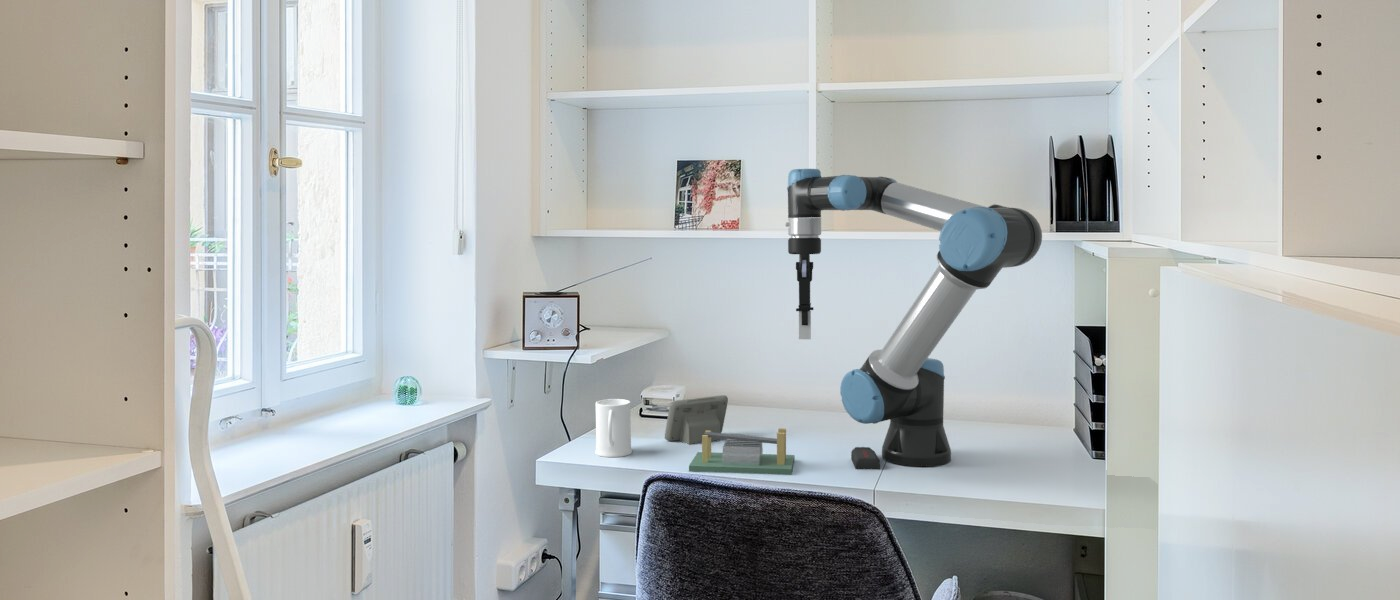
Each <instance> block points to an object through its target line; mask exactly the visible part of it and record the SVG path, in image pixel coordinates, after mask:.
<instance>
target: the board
mask: <svg viewBox="0 0 1400 600" xmlns="http://www.w3.org/2000/svg"><path fill="white" fill-rule="evenodd" d="M705 432H711V431H705ZM776 439H777V444H776V453H775V454H774V453H773V454H772V453H770V454H769V453H763V457H762V459H761V462H760V465H759V466H754V465H724V464H722V455H723V452H712V441H711V437H708V435H702V443H701V450H702V451H697V452H696V454H695V456H694V457H693V459H692V460H691V462H690V463H689V465H688V472H698V473H700V472H702V473H731V474H732V473H733V474H758V475H759V474H760V475H761V474H763V475H783V476H787V475H789V476H791V475H793V469H794V465H795V461H796V460H795V459H796V458H795V454H787V428H786V427H778V432H776Z"/></svg>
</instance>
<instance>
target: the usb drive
mask: <svg viewBox="0 0 1400 600" xmlns="http://www.w3.org/2000/svg"><path fill="white" fill-rule="evenodd" d="M850 456H851V457H850V459H851V461H852V464H853V467H854V468H855V470H881V463H880V462H881V461H880V459H879V458H878V456H877V454H876V452H875V451H874V450H873V449H872V448H871V447H869V446H867V447H866V446H863V447H862V446H856V447H854V448H853V449H852V450H851V455H850Z"/></svg>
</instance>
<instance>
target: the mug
mask: <svg viewBox="0 0 1400 600" xmlns="http://www.w3.org/2000/svg"><path fill="white" fill-rule="evenodd" d="M631 423H632V421H631V401H630V400H628V399H624V398H623V399H622V398H608V399H605V398H604V399H601V400H598V401H597V400H596V402H595V452H594V453H595V455H596V456H598V457H603V458H621V457H626V456H629V455H632V453H633V449H632V434H631V433H632V425H631Z"/></svg>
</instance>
